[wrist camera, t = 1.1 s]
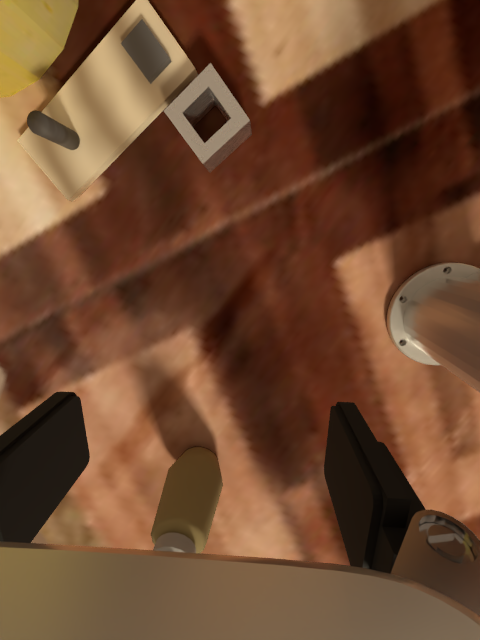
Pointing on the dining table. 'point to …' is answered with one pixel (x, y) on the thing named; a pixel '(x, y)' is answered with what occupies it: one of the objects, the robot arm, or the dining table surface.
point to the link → (196, 105)
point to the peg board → (108, 101)
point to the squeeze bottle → (188, 502)
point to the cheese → (31, 39)
